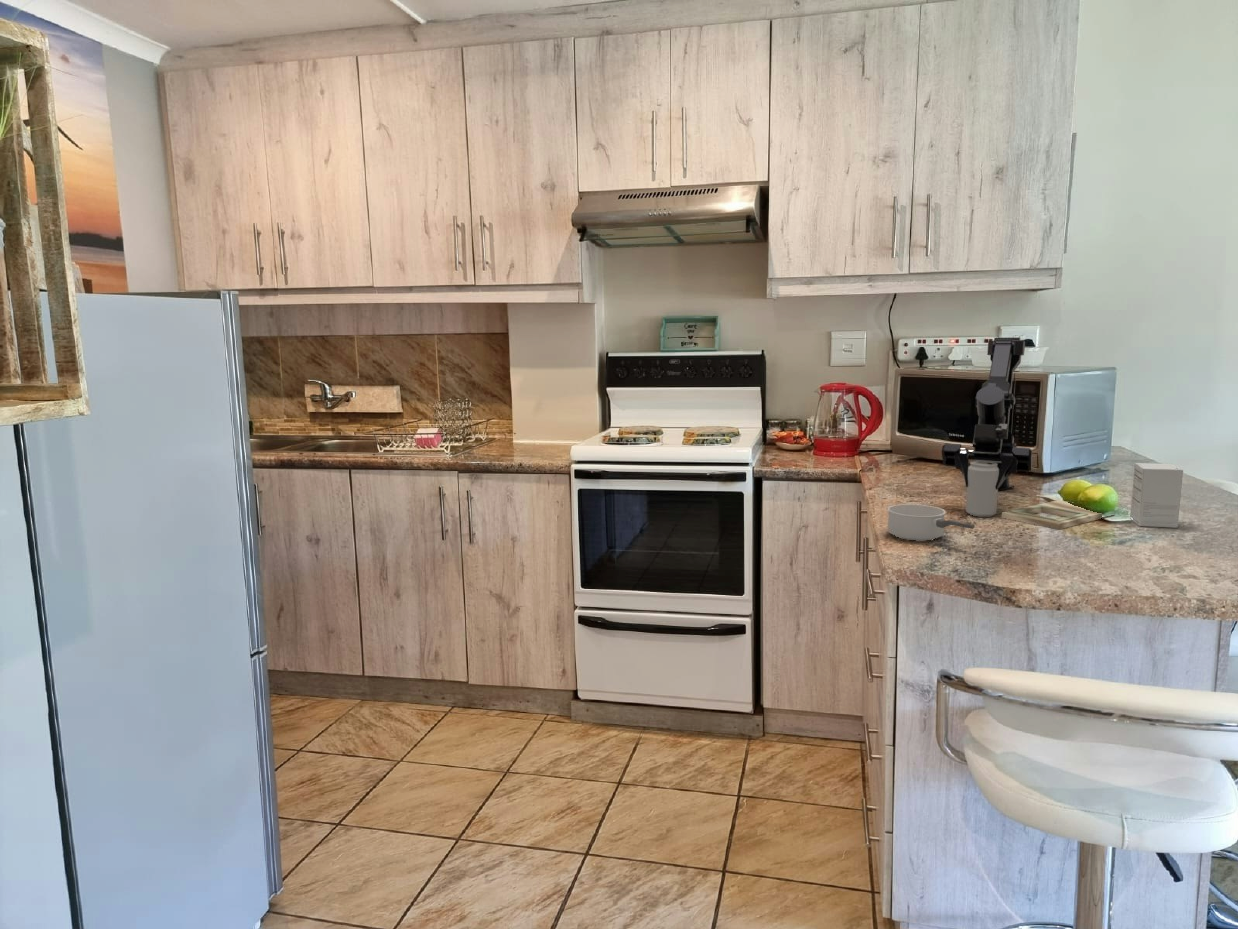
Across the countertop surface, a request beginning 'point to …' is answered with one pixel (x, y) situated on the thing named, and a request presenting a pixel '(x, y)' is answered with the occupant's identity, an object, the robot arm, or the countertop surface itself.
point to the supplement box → (1156, 495)
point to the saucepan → (919, 522)
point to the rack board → (1060, 508)
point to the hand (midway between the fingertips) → (981, 487)
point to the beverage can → (982, 488)
